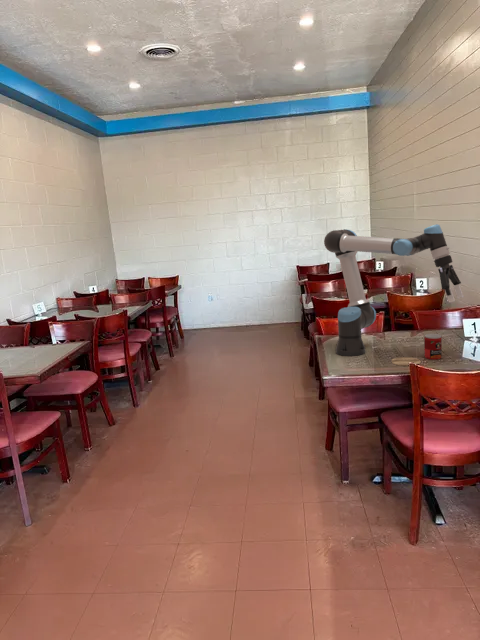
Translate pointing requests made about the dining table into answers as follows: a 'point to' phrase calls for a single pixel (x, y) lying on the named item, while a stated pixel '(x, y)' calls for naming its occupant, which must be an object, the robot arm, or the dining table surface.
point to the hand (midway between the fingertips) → (456, 300)
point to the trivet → (405, 361)
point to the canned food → (432, 346)
